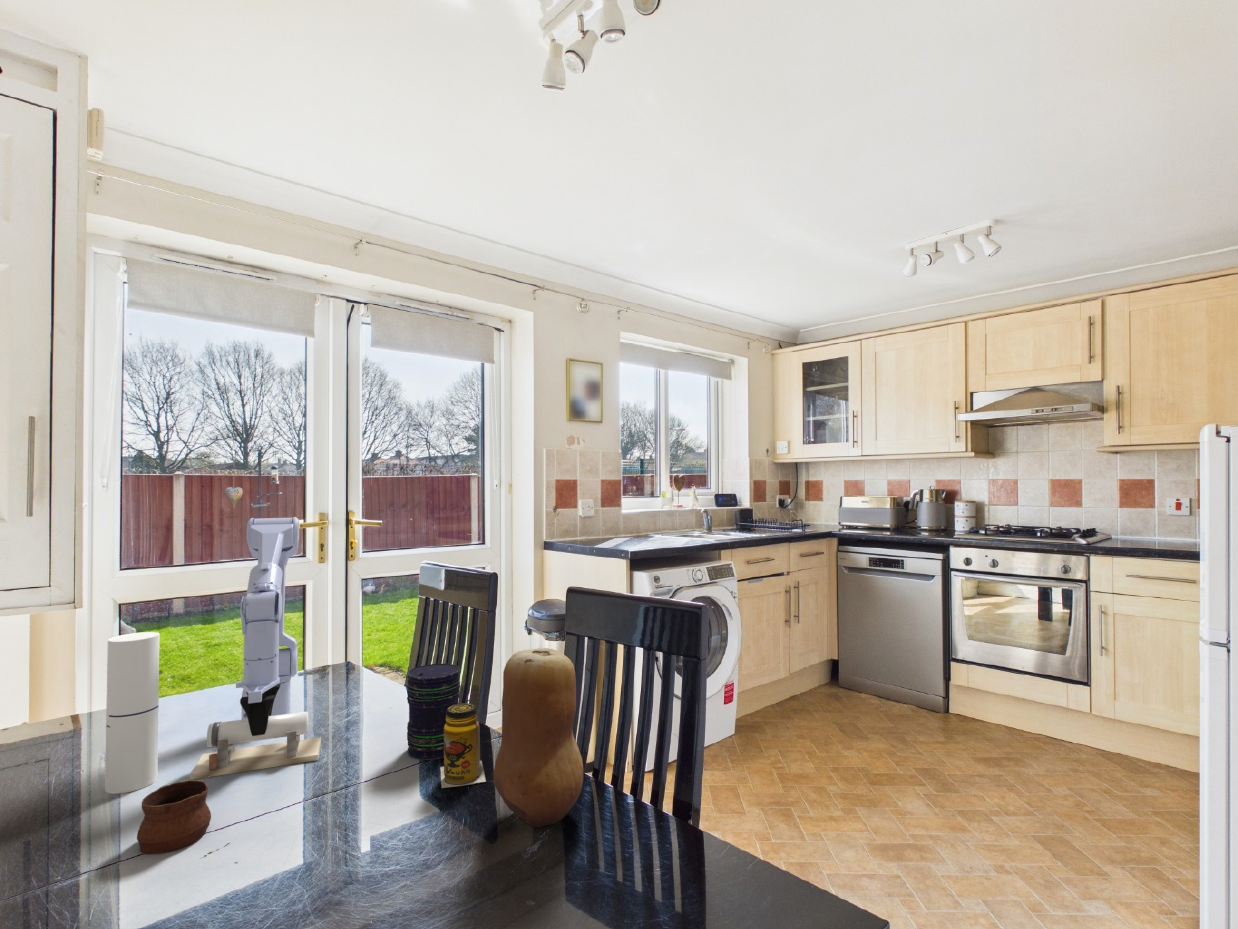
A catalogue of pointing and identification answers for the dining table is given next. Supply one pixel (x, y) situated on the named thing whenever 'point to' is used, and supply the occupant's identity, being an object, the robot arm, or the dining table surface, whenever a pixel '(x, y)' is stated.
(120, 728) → the cylindrical container
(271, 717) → the tube
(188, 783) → the ceramic pot
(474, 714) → the condiment
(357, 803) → the dining table surface
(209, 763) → the tube stand
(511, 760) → the butternut squash
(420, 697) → the storage jar
